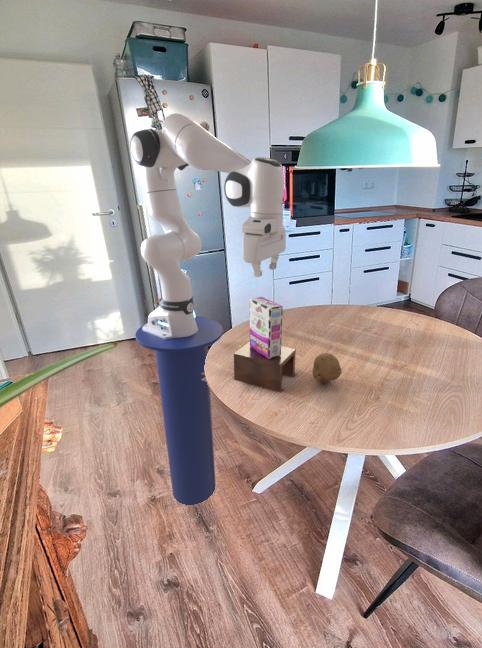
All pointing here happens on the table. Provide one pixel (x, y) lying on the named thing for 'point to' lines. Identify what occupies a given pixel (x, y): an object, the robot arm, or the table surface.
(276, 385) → the walnut shelf
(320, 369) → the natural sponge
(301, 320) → the table surface
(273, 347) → the candy bar box
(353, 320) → the table surface
